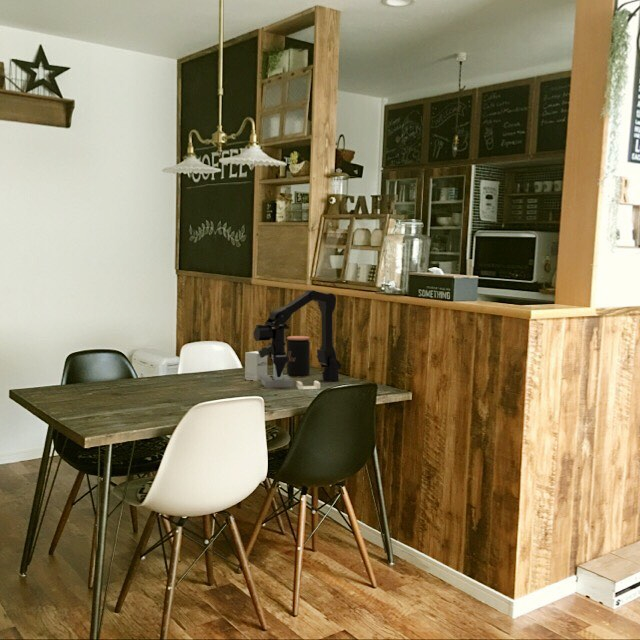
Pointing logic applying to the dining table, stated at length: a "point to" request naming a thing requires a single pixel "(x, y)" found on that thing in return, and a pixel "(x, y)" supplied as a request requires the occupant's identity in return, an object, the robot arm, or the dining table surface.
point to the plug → (276, 374)
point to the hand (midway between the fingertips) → (278, 376)
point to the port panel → (276, 381)
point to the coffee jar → (298, 355)
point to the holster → (300, 386)
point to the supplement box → (255, 366)
